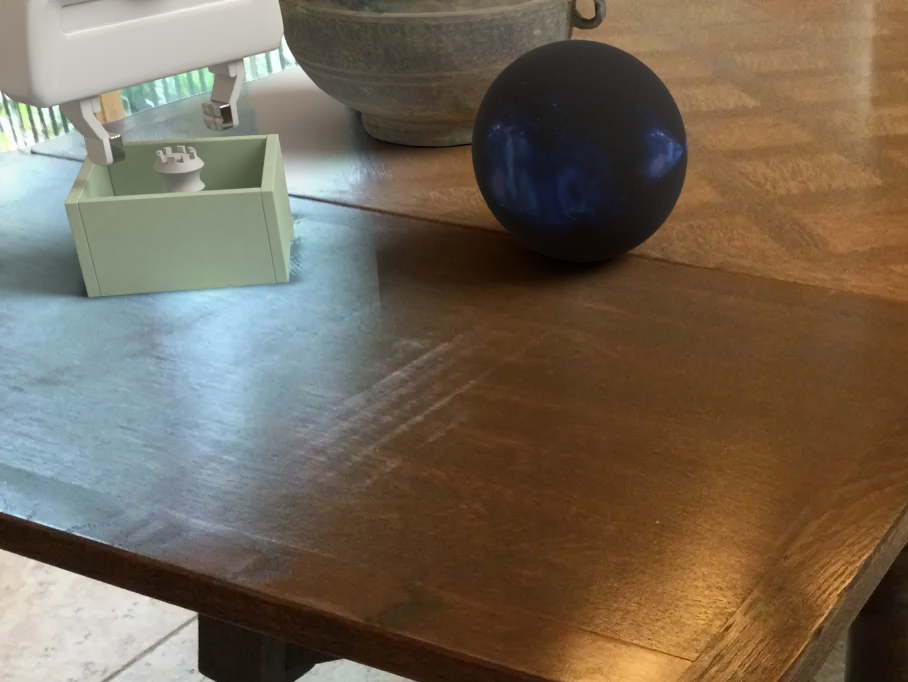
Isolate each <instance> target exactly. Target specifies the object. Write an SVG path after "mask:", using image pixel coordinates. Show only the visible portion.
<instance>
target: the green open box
mask: <svg viewBox="0 0 908 682" xmlns="http://www.w3.org/2000/svg"><path fill="white" fill-rule="evenodd" d="M122 142H123V147H122V150H123V151H124V152H125V156H126V157H125V160H123V161H120V162H117V163H114V164H111V165H108V166H100V165H97V164H94V163H92V162H91V160H90V159H89V157H88V153H87V155H86V156H85V159H84V161H83V162H82V165H81V167H80V169H79V171H78V174H77V175H76V178H75V180H74V182H73V185H72V187H71V189H70V190H69V193H68V195H67V197H66V200H65V201H64V207H65V211H66V216H67V219H68V224H69V226H70V231H71V235H72V239H73V242H74V247H75V251H76V255H77V258H78V262H79V266H80V270H81V273H82V278H83V282H84V285H85V289H86V294H87V297H88V298H97V297H108V296H110V297H111V296H123V295H136V294H149V293H161V292H175V291H188V290H200V289H202V290H203V289H215V288H228V287H242V286H254V285H255V286H256V285H269V284H282V283H289V280H290V264H291V245H292V242H295V237H296V235H295V228H294V221H293V217H292V216H293V215H292V209H291V203H290V196H289V190H288V185H287V178H286V172H285V165H284V161H283V159H284V158H283V153H282V149H281V148H282V147H281V141H280V136H279V134H278V133H270V134H253V135H251V134H250V135H232V136H231V135H230V136H212V137H195V138H178V139H177V138H174V139H173V138H172V139H156V140H154V139H153V140H141V141H140V140H138V141H137V140H135V141H122ZM177 146H185V150H186V152H187V153H188V149H187V148H188V147H193V148H195V150H196V154H197V156H198V157H199V158H200V159H201V160H202V161H203V162H204V166H203V168H202V170H201V172H200V174H199V175H200V180H201V181H202V182H203V183H204V185H205V187H204V189H203V191H194V192H177V193H164V192H162V190H161V189H162V187H163V185H164V181H163V178H162V177H161V176H160V175H159V174H158V173H157V172H156V171H155V170H154V169H153V166H154V164H155V163H156V161H157V156H156V152H157V151H158V150H162V153H163V155H164V152H163V148H166V147H171V151H172V153H178V150H177Z"/></svg>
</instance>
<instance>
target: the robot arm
mask: <svg viewBox="0 0 908 682" xmlns="http://www.w3.org/2000/svg"><path fill="white" fill-rule="evenodd" d="M283 33H284V27H283V21H282V15H281V10H280V5H279V1H278V0H0V91H1V92H2V93H4V95H5V96H6V97H8V99H10V100H12V101H13V102H16V103H20V104H22V105H25V106H31V107H35V108H40V109H48V108H52V107H55V106H56V107H57V106H59V110H60V112H61V114H63V116H64V117H65V118H66V119H67V120H68V121H69V122H70V124H71V125H72V126H73V127H74V128H75V129H76V131H78V133H79V134H80V135H81V136H83V139H84V143H85V148H86V152H87V154H88V157H89V159H90V160H91V162H92V163H94V164H97V165H100V166H108V165H111V164H114V163H117V162H120V161H123V160H125V157H126V156H125V152H124V151H123V150H122V147H123V142H124V141H123V138H122V135H121V134H119V133H116V132H110V131H109V130H106V129H105V128H104V126H103V125H102V124H101V122H100V120H98V118H97V117H96V115H95V114H99V113H101V111H102V108H101V103H100V97H99V95H103V94H108V93H111V92H116V91H119V90H123V89H128V88H132V87H135V86H139V85H143V84H147V83H152V82H155V81H159V80H163V79H167V78H170V77H175V76H179V75H182V74H187V73H191V72H195V71H198V70H202V69H207V71H208V72H209V73H211V74H214V77H213V84H212V88H211V94H210V98H209V100H205V101H202V102H201V109H202V113H203V114H204V118H203V120H204V124H205V126H206V128H207V129H209V130H211V131H216V132H220V133H221V132H224V131H228V130H231V129H235V128H237V127H239V124H240V121H239V115H238V107H237V102H238V100H239V97H240V93H241V90H242V87H243V84H244V82H245V78H246V68H245V61H244V60H245V59H246V58H251V57H253V56H258V55H262V54H266V53H270V52H274V51H276V50H278V49H279V46H280V45H281V42H282V40H283V37H284V34H283Z"/></svg>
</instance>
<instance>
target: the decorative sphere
mask: <svg viewBox="0 0 908 682" xmlns="http://www.w3.org/2000/svg"><path fill="white" fill-rule="evenodd" d="M665 84H666V83H664V82H663V80H662V79H661V78H660V77H659V76H658V75H657V74H656V73H655V72H654V71H653V69H651V68H650V67H649V66H648V65H647V64H646V63H644V62H643V61H642V60H641V59H639V58H637V57H636V56H634V55H633V54H631V53H629V52H628V51H626V50H623V49H621V48H620V47H616V46H614V45H611V44H608V43H605V42H600V41H598V40H597V41H596V40H589V39H572V40H564V41H557V42H552V43H549V44H545V45H542V46H540V47H537V48H535V49H533V50H531V51H529V52H527V53H525V54H523V55H522V56H520V57H519V58H517V59H516V60H515V61H513V62H512V63H511V64H509V65H508V66H507V67H506V68H505V69H504V70H503V71H502V72H501V73H500V74H499V75H498V76H497V78H496V79H495V80H494V81H493V83H492V84H491V86H490V87H489V89H488V90H487V92H486V94H485V96H484V98H483V100H482V102H481V104H480V107H479V109H478V112H477V115H476V119H475V122H474V128H473V134H472V143H471V159H472V160H471V161H472V167H473V173H474V177H475V181H476V184H477V187H478V189H479V191H480V195H481V197H482V198H483V200H484V203H485V204H486V206H487V207H488V210H489V211H490V212H491V215H492V216H493V217H494V218H495V219H496V221H497V222H498V224H500V225H501V226H502V227H503V229H504V230H505V231H506V232H507V233H508V234H510V235H511V236H512V237H513V238H514V239H516V240H517V241H518V242H520V243H521V244H523V245H524V246H526V247H527V248H529V249H530V250H533V251H535V252H537V253H539V254H542V255H543V256H547V257H549V258H553V259H556V260H561V261H567V262H573V263H589V262H599V261H605V260H609V259H613V258H615V257H618V256H622V255H624V254H626V253H628V252H631V251H632V250H635V249H636V248H637V247H638V246H641V245H642V244H643V243H644V242H646V241H647V240H649V239H650V238H652V236H653V235H654V234H655V233H656V232H657V231H658V230H659V229H660V228H661V227H662V226H663V225H664V224H665V222H666V221H667V220H668V218H669V217H670V215H671V214H672V212H673V211H674V208H675V206H676V204H677V202H678V200H679V198H680V196H681V194H682V190H683V188H684V184H685V181H686V180H685V179H686V175H687V170H688V169H687V168H688V160H689V159H688V157H689V155H688V154H689V150H688V149H689V148H688V137H687V133H686V127H685V124H684V120H683V117H682V114H681V112H680V108H679V107H678V105H677V103H676V100H675V98H674V97H673V95H672V93H671V91H670V90H669V89H668V87H667V85H665Z"/></svg>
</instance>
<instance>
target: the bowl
mask: <svg viewBox="0 0 908 682" xmlns="http://www.w3.org/2000/svg"><path fill="white" fill-rule="evenodd" d="M278 1H279V5H280V10H281V15H282V21H283V27H284V33H283V38H284V40H285V43H286V45H287V47H288V50H289V51H290V53H291V55H292V56H293V58H294V60H295V61H296V63H297V64H298V66H299V67H300V68H301V70H302V71H303V72H304V73H305V74H306V75H307V77H308V78H309V80H311V81H312V83H314V84H315V86H316V87H317V88H318V89H320V90H321V91H323V92H324V93H325V94H327V95H328V96H329V97H330V98H332V99H333V100H335V101H337V102H339V103H341V104H343V105H344V106H347V107H349V108H351V109H353V110H355V111H358V112H359V113H361V114H360V115H361V123H362V125H363V127H364V130H365V132H366V133H367V134H369V135H370V136H371V137H373V138H374V139H377V140H380V141H382V142H387V143H391V144H398V145H403V146H416V147H451V146H458V145H468V144H472V134H473V128H474V122H475V119H476V115H477V112H478V109H479V107H480V104H481V102H482V100H483V98H484V96H485V94H486V92H487V90H488V89H489V87H490V86H491V84H492V83H493V81H494V80H495V79H496V78H497V76H498V75H499V74H500V73H501V72H502V71H503V70H504V69H505V68H506V67H507V66H508V65H509V64H511V63H512V62H513V61H515V60H516V59H517V58H519V57H520V56H522V55H523V54H525V53H527V52H529V51H531V50H533V49H535V48H537V47H540V46H542V45H545V44H549V43H552V42H557V41H564V40H573V37H574V33H575V29H578V30H580V31H581V30H582V31H584V30H586V31H587V30H594V29H596V28H599V27H600V26H601V24H602V23H603V22H604V21H605V19H606V17H607V3H606V0H592V1H593V2H594V16H593V17H591V18H586V17H584V16H583V15H582V14H581V12H580V11H579V10H578V9H577V1H578V0H278Z"/></svg>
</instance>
